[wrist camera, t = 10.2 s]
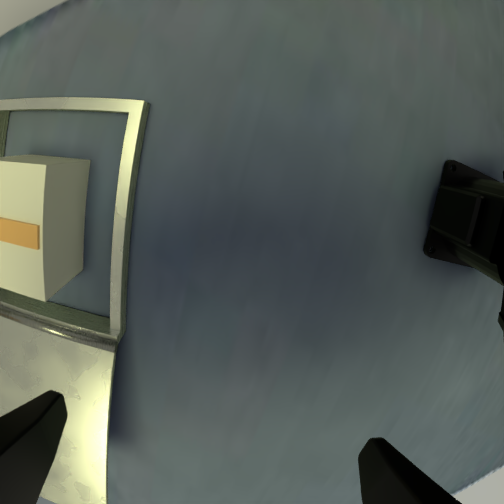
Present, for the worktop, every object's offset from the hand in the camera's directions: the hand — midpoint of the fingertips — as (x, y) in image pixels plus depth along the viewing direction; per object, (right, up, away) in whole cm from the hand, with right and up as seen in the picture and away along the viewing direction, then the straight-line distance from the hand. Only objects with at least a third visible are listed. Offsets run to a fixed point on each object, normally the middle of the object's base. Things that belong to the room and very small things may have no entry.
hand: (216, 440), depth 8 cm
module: (-12, +8, +10) cm, 17 cm away
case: (-13, +2, +12) cm, 18 cm away
